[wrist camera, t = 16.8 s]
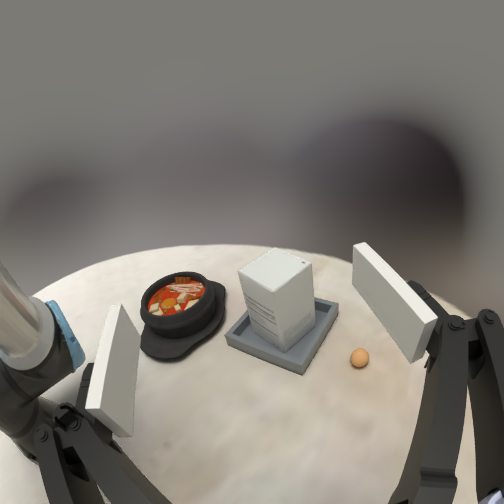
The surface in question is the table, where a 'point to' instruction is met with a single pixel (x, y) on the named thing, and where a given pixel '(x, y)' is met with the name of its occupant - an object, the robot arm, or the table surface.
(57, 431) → the robot arm
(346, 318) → the table surface
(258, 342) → the tray
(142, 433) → the table surface
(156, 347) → the casserole
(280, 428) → the table surface
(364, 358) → the ball
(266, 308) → the supplement box
